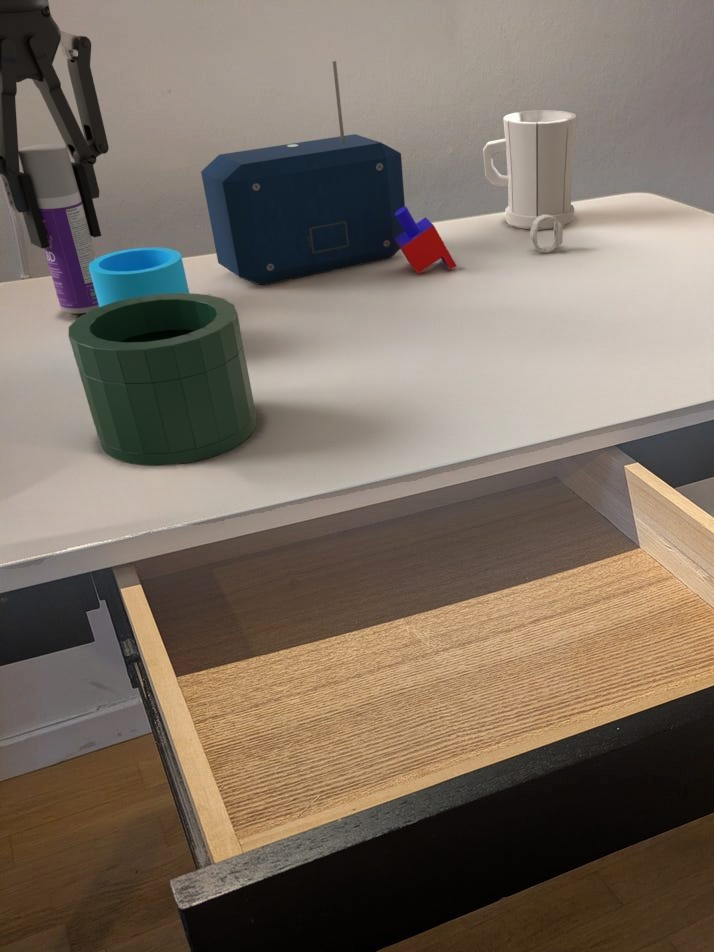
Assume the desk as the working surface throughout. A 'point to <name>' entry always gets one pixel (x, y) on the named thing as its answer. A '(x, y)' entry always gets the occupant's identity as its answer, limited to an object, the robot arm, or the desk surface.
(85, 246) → the container
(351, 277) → the desk surface
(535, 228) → the grey ring
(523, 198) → the cup
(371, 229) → the radio
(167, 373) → the jar
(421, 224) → the toy building block
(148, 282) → the mug
